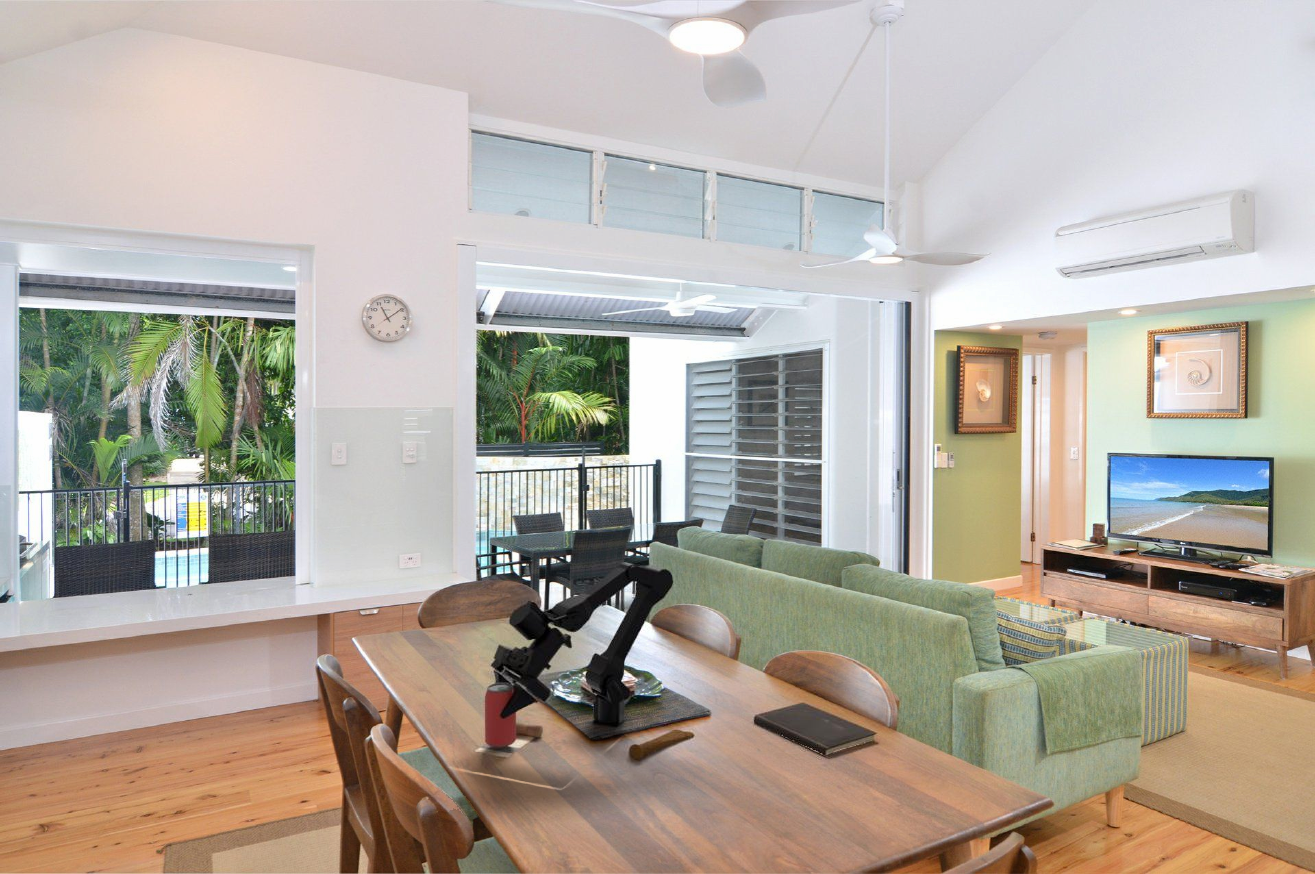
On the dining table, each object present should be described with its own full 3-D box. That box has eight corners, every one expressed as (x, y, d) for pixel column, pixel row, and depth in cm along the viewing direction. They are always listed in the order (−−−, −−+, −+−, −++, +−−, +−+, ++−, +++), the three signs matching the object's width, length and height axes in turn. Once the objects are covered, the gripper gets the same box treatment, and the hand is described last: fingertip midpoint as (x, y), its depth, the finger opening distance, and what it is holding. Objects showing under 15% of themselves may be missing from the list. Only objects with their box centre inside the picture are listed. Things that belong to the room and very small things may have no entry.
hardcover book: (803, 711, 201) (803, 702, 201) (876, 742, 182) (876, 732, 182) (753, 725, 192) (753, 715, 192) (825, 759, 173) (825, 748, 173)
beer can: (493, 751, 171) (493, 694, 170) (479, 741, 176) (479, 685, 176) (521, 743, 175) (521, 687, 175) (507, 733, 180) (506, 679, 180)
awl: (542, 735, 183) (542, 724, 183) (537, 739, 180) (537, 728, 180) (496, 727, 187) (496, 716, 187) (490, 731, 185) (490, 720, 185)
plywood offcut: (542, 733, 185) (542, 731, 185) (507, 759, 171) (507, 757, 171) (512, 728, 188) (512, 726, 188) (474, 753, 174) (474, 751, 174)
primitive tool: (676, 731, 188) (676, 716, 188) (696, 737, 185) (697, 721, 184) (626, 760, 172) (626, 743, 172) (647, 767, 169) (647, 750, 169)
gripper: (498, 621, 185) (452, 679, 179) (536, 640, 169) (487, 704, 163) (530, 650, 189) (486, 707, 183) (570, 671, 174) (523, 734, 168)
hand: (494, 712), depth 174 cm, fingers closed on beer can, 6 cm apart
